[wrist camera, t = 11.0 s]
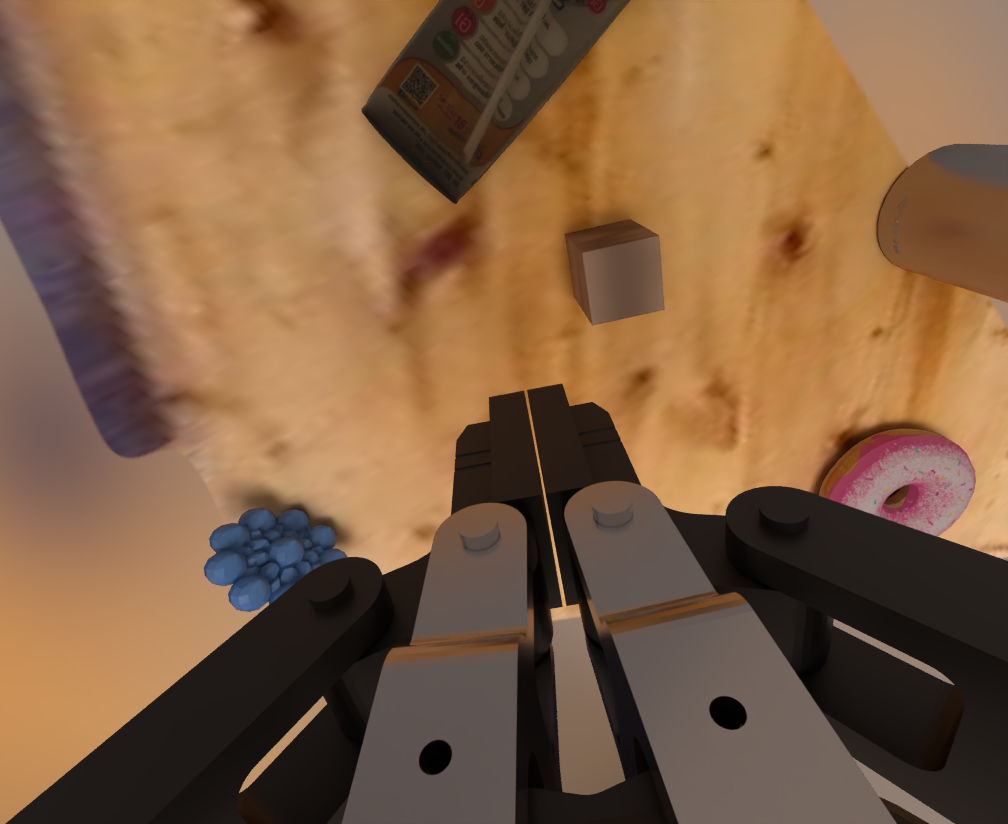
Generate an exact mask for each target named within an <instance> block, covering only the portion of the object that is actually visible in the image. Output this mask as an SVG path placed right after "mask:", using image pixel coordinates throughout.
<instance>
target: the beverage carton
mask: <svg viewBox="0 0 1008 824" xmlns="http://www.w3.org/2000/svg"><path fill="white" fill-rule="evenodd" d="M629 1H630V0H440V1H439V2H438V4H437V5H436V6H435V8H434V9H433V10H432V12H431V13H430V14H429V15H428V17H427V18H426V19H425V21H424V22H423V23H422V25H421V26H420V28H419V29H418V30H417V32H416V33H415V34H414V36H413V37H412V39H411V40H410V41H409V43H408V44H407V45H406V47H405V48H404V49H403V50H402V52H401V53H400V55H399V56H398V58H397V59H396V60H395V61H394V63H393V64H392V65H391V67H390V68H389V70H388V71H387V73H386V74H385V76H384V77H383V79H382V80H381V81H380V82H379V84H378V85H377V87H376V88H375V90H374V91H373V93H372V95H371V96H370V98H369V99H368V101H367V103H366V105H365V106H364V107H363V108H362V112H363V114H364V115H365V117H366V118H367V119H368V120H369V122H370V123H371V124H372V125H373V127H374V128H375V129H376V130H377V131H378V132H379V134H380V135H381V136H382V137H383V138H384V139H385V140H386V141H387V142H388V143H389V144H390V146H391V147H392V148H393V149H394V150H395V151H396V152H397V153H398V154H399V155H400V156H401V157H402V158H403V159H404V160H405V161H406V162H407V163H408V164H409V165H410V166H411V167H412V168H413V169H415V170H416V171H417V172H418V173H419V174H420V175H421V176H422V177H423V178H424V179H425V180H426V181H428V182H429V183H430V184H431V185H432V186H434V187H435V188H436V189H437V190H438V191H439V192H441V193H442V194H443V195H444V196H445V197H447V198H448V199H449V200H450V201H452V202H453V203H455V204H457V202H458V200H459V199H460V198H461V197H462V196H464V195H465V193H466V192H467V191H468V190H469V189H470V188H471V187H472V186H473V185H474V184H475V183H476V182H477V181H478V180H479V179H480V178H481V177H482V175H483V174H484V173H485V172H486V171H487V170H488V169H489V168H490V167H491V165H492V164H493V163H494V162H495V161H496V160H497V159H498V157H499V156H500V155H501V154H502V153H503V152H504V151H505V150H506V148H507V147H508V146H509V145H510V144H511V143H512V142H513V140H514V139H515V138H516V137H517V136H518V135H519V134H520V132H521V131H522V130H523V129H524V128H525V127H526V125H527V124H528V123H529V122H530V121H531V120H532V118H533V117H534V116H535V115H536V114H537V112H538V111H539V110H540V109H541V108H542V107H543V105H544V104H545V103H546V102H547V101H548V100H549V98H550V97H551V96H552V95H553V94H554V93H555V91H556V90H557V89H558V88H559V87H560V85H561V84H562V83H563V82H564V81H565V79H566V78H567V77H568V76H569V75H570V73H571V72H572V71H573V70H574V69H575V67H576V66H577V65H578V64H579V62H580V61H581V60H582V59H583V58H584V56H585V55H586V54H587V53H588V51H589V50H590V49H591V48H592V46H593V45H594V44H595V43H596V42H597V40H598V39H599V38H600V37H601V35H602V34H603V33H604V32H605V30H606V29H607V28H608V27H609V26H610V24H611V23H612V22H613V21H614V19H615V18H616V17H617V16H618V14H619V13H620V12H621V11H622V9H623V8H624V7H625V6H626V5H627V3H628V2H629Z"/></svg>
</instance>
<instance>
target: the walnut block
mask: <svg viewBox="0 0 1008 824" xmlns="http://www.w3.org/2000/svg"><path fill="white" fill-rule="evenodd" d="M565 238H566V244H567V251H568V257H569V264H570V270H571V277H572V283H573V290H574V297H575V299H576V300H577V302H578V304H579V305H580V307H581V308H582V310H583V311H584V313H585V315H586V316H587V318H588V319H589V321H590V322H591V324H592V326H593V325H597V324H602V323H606V322H611V321H615V320H620V319H624V318H629V317H633V316H638V315H642V314H647V313H651V312H656V311H660V310H664V296H663V282H662V269H661V255H660V241H659V235H657V234H656V233H654V232H652V231H650V230H648V229H647V228H645V227H643V226H641V225H640V224H638V223H636V222H634V221H632V220H631V219H629V220H624V221H620V222H616V223H611V224H607V225H602V226H598V227H594V228H589V229H585V230H581V231H576V232H572V233H568V234H565Z"/></svg>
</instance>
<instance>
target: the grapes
mask: <svg viewBox="0 0 1008 824" xmlns="http://www.w3.org/2000/svg"><path fill="white" fill-rule="evenodd" d="M238 523H239V524H238ZM238 523H230V524H226V525H222V526H220V527H219V528H217V529H216V530H214V531H213V533H212V535H211V536H210V538H209V540H210V546H211V547H212V549H213V550H214V551H215V552H216V554H215V555H214V556H212V557H211V558H209V559H208V561H207V563H206V565H205V567H204V573H205V576H206V577H207V578H208V580H209V581H210V582H211V583H212V584H216V585H221V586H227V585H230V584H233V585H232V587H231V589H230V591H229V593H228V596H229V602H230V603H231V604H232V605H233V606H234V607H235V608H236V609H237V610H240V611H248V612H251V611H254V610H258V609H260V608H261V607H262V606H263V605H265V604H266V603H267V602H268V601H269V605H270V604H271V603H272V602H273V601H275V600H276V599H277V598H278V597H279V596H281V595H282V594H283V593H284V592H285V591H287V590H288V589H289V588H290V587H292V586H293V585H294V584H295V583H296V582H298V581H299V580H300V579H301V578H302V577H304V576H305V575H306V574H308V573H309V572H311V571H312V570H314V569H315V568H317V567H319V566H321V565H323V564H325V563H328V562H331V561H333V560H337V559H341V558H347V555H346V554H345V552H343V551H341V550H339V549H335V548H333V547H334V546H335V543H336V541H337V537H336V533H335V531H334V530H333V529H332V528H331V527H329V526H327V525H317V526H313V527H311V528H310V529H309V530H308V528H309V525H310V522H309V517H308V516H307V515H306V513H304V512H303V511H301V510H298V509H291V510H287V511H284V512H282V513H281V514H279V515H278V516H277V518H276V516H275V515H274V514H273V512H271V511H270V510H268V509H266V508H255V509H251V510H248V511H247V512H245V513H244V514H242V515H241V517H240V519H239V521H238Z"/></svg>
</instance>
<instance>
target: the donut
mask: <svg viewBox="0 0 1008 824" xmlns="http://www.w3.org/2000/svg"><path fill="white" fill-rule="evenodd" d="M975 483H976V477H975V470H974V468H973V466H972V464H971V461H970V459H969V457H968V455H967V453H966V452H965V451H964V450H963V449H962V448H961V447H960V446H959V445H957V444H955V443H954V442H952V441H950V440H949V439H947V438H945V437H943V436H942V435H940V434H937V433H933V432H930V431H926V430H918V429H905V428H903V429H894V430H887V431H884V432H881V433H877V434H874V435H872V436H870V437H868V438H866V439H864V440H862V441H860V442H859V443H857V444H856V445H855V446H853V447H852V448H851V449H849V450H848V451H847V452H846V453H845V454H844V455H843V456H842V457H841V458H840V459H839V460H838V461H837V462H836V464H835V465H834V466H833V467H832V469H831V470H830V471H829V473H828V474H827V476H826V478H825V479H824V481H823V483H822V486H821V489H820V491H819V496H822V497H824V498H827V499H830V500H833V501H836V502H839V503H842V504H845V505H847V506H850V507H853V508H856V509H859V510H862V511H865V512H868V513H871V514H873V515H876V516H879V517H882V518H885V519H888V520H891V521H894V522H897V523H899V524H902V525H905V526H908V527H911V528H914V529H917V530H920V531H922V532H925V533H928V534H931V535H934V536H939V535H940V534H942V533H943V532H944V531H946V530H947V529H948V528H949V527H951V526H952V525H953V524H954V523H955V522H956V521H957V520H958V518H959V517H960V516H961V515H962V513H963V512H964V510H965V509H966V507H967V505H968V503H969V501H970V499H971V497H972V495H973V493H974V488H975ZM899 488H900V490H899V491H898V492H897V493H896V494H894V495H893V496H891V497H890V498H888V497H889V495H891V494H892V493H893V492H894V491H896V490H897V489H899ZM887 498H888V499H887Z"/></svg>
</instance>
